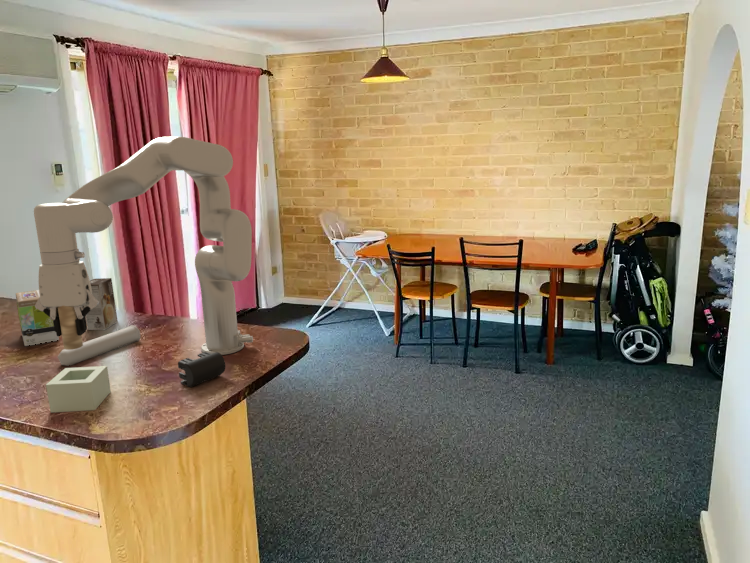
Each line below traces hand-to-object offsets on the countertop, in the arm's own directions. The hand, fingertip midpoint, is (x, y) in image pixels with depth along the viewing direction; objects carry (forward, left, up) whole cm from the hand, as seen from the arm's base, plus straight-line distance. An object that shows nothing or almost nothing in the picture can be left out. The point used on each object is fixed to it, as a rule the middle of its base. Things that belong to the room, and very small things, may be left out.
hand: (71, 333), depth 131 cm
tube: (+9, -35, -18) cm, 40 cm away
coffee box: (+18, -62, -18) cm, 67 cm away
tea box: (+34, -52, -18) cm, 65 cm away
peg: (0, 0, -3) cm, 3 cm away
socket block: (0, 0, -17) cm, 17 cm away
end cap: (-27, -9, -18) cm, 34 cm away
